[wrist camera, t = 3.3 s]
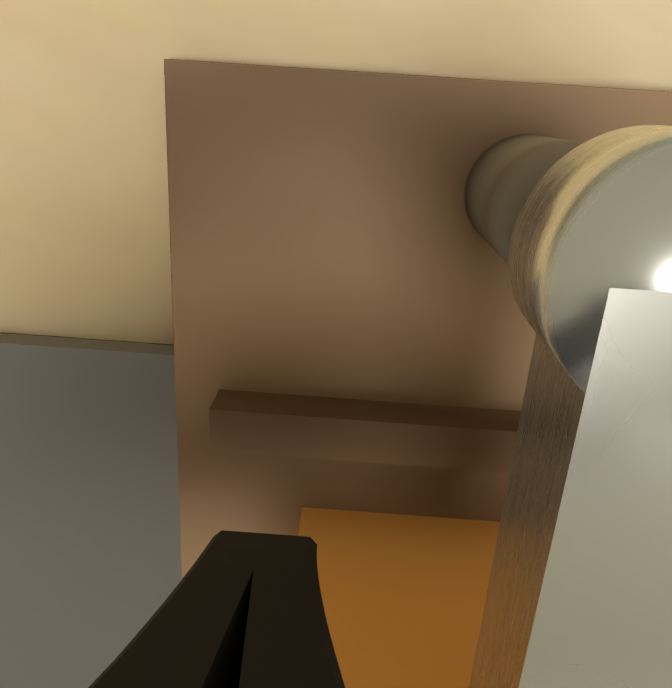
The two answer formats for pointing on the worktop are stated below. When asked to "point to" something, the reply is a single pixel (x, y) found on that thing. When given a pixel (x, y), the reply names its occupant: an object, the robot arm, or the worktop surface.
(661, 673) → the t key
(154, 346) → the mat
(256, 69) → the brown slotted base
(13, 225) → the worktop surface
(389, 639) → the orange block
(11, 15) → the worktop surface
